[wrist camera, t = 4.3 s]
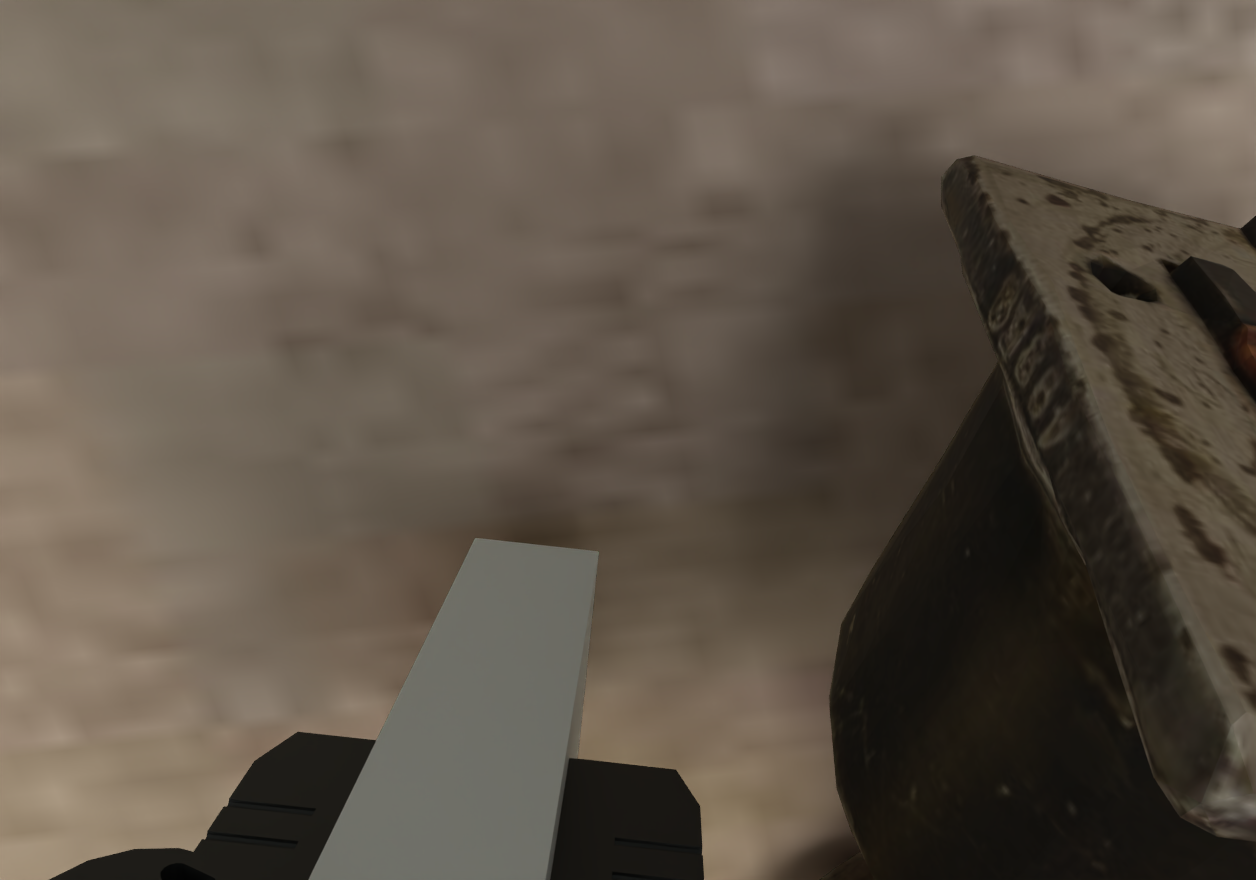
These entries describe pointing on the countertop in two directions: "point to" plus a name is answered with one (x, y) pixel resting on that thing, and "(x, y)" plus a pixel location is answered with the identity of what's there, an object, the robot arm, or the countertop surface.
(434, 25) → the countertop surface
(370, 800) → the robot arm
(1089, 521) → the dark metal piece
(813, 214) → the countertop surface
